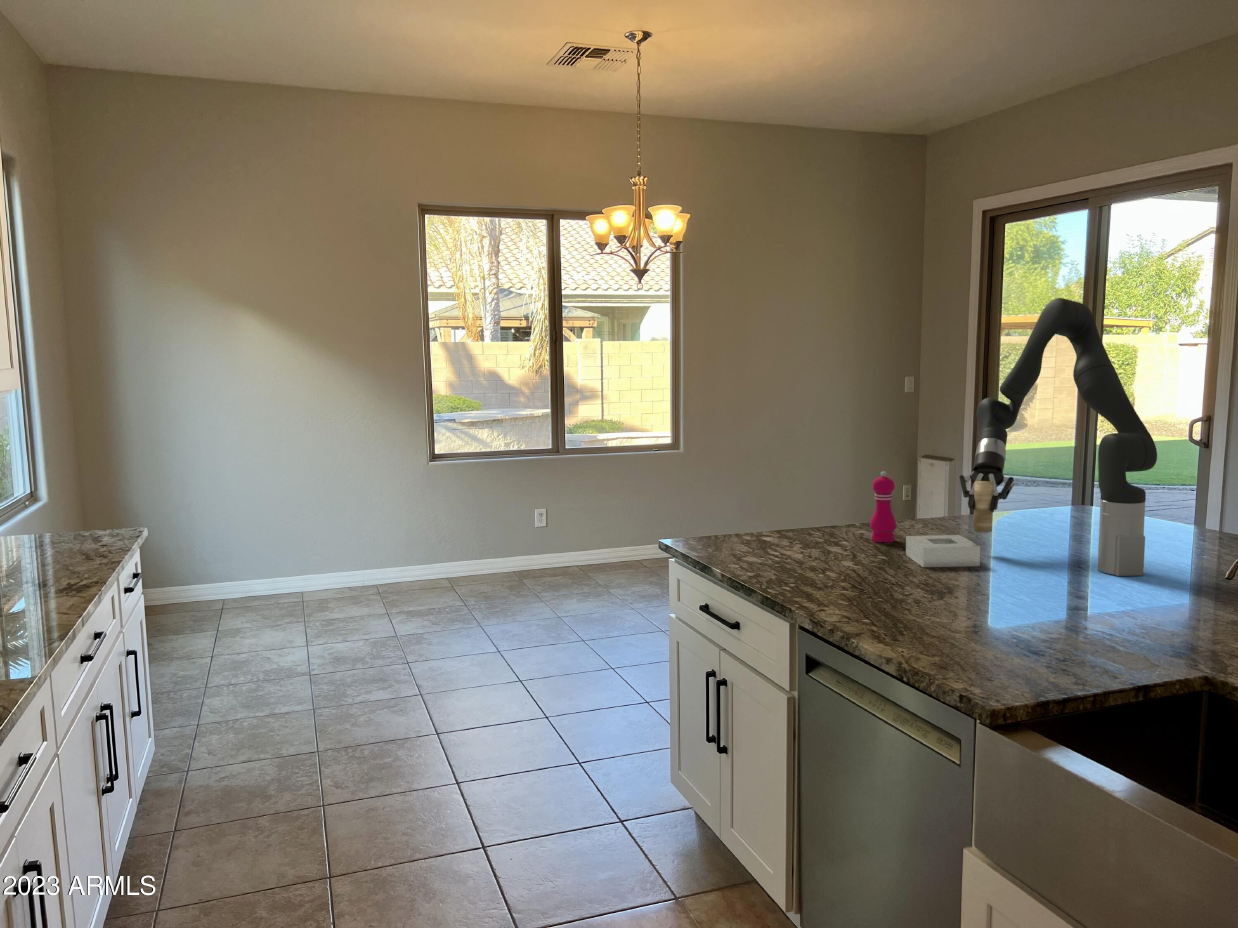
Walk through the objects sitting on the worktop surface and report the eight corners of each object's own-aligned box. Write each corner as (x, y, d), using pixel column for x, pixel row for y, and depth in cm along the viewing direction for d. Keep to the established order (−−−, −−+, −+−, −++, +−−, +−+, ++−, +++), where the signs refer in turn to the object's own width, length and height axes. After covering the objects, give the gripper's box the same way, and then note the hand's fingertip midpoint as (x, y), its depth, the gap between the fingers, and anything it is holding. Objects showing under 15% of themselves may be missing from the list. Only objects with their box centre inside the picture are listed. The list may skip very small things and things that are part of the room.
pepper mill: (893, 537, 249) (894, 469, 247) (898, 543, 242) (899, 472, 240) (867, 537, 250) (868, 469, 248) (872, 543, 243) (873, 473, 241)
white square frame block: (979, 566, 214) (980, 546, 213) (923, 567, 214) (923, 547, 214) (958, 553, 228) (959, 534, 227) (905, 554, 228) (906, 536, 228)
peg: (994, 532, 224) (995, 483, 223) (977, 532, 225) (978, 483, 223) (987, 529, 229) (988, 480, 227) (971, 529, 229) (971, 481, 228)
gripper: (960, 449, 234) (951, 499, 226) (1017, 450, 227) (1010, 502, 218) (963, 466, 240) (954, 516, 231) (1019, 468, 232) (1012, 519, 223)
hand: (982, 509), depth 224 cm, fingers closed on peg, 4 cm apart
